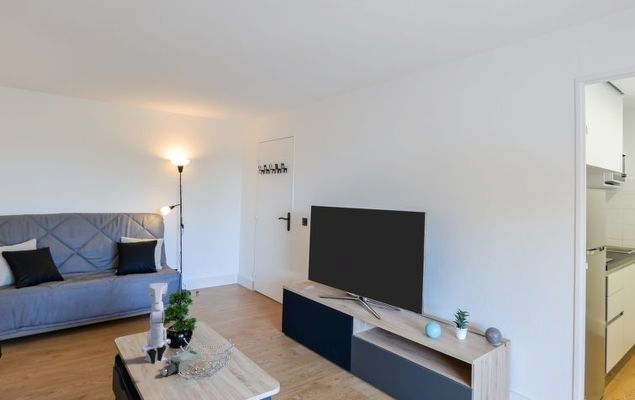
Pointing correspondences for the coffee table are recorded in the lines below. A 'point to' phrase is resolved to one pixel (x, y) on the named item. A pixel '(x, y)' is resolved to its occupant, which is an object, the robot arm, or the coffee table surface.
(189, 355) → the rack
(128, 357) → the coffee table surface
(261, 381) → the coffee table surface
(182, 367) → the socket
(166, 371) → the drill
